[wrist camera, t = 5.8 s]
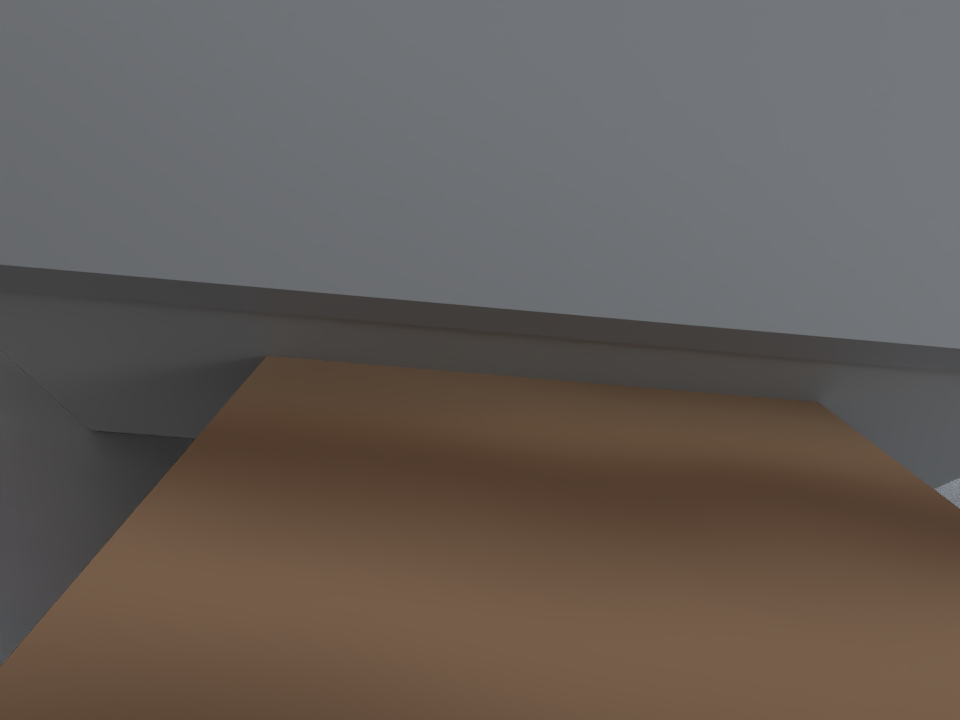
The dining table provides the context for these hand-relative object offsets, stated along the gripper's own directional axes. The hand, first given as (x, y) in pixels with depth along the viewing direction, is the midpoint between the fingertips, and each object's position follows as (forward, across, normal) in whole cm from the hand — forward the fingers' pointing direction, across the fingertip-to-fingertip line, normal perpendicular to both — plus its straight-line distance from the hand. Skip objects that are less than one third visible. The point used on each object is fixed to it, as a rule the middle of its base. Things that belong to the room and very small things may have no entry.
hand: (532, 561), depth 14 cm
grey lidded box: (+9, 0, +2) cm, 9 cm away
